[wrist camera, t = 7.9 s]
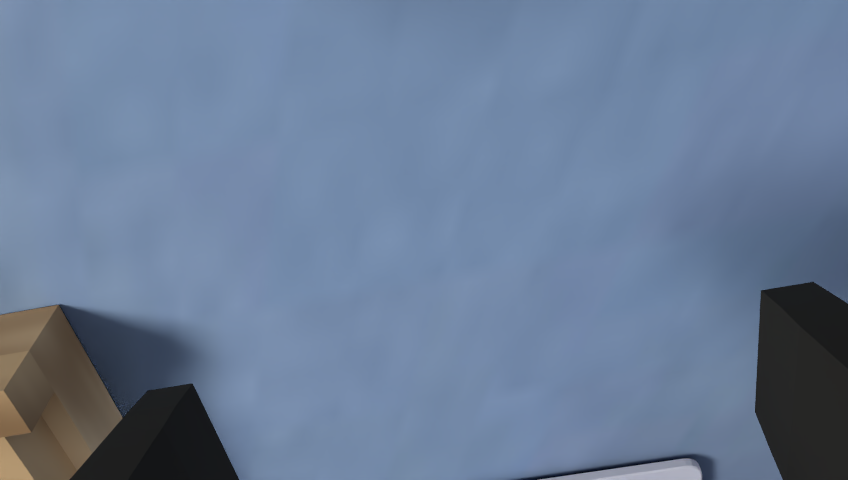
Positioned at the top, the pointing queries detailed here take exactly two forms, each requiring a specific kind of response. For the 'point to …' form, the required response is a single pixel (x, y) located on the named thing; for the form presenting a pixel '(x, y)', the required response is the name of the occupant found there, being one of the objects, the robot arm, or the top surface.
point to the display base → (48, 398)
